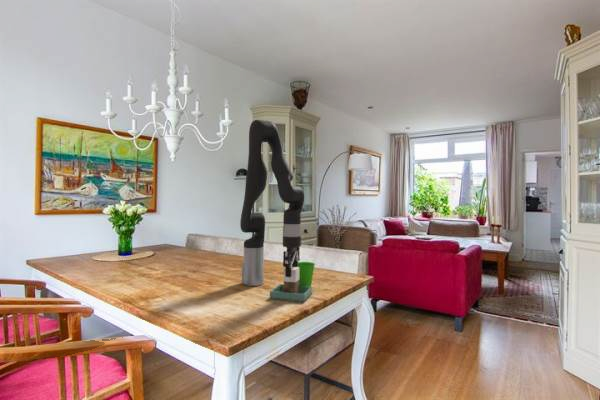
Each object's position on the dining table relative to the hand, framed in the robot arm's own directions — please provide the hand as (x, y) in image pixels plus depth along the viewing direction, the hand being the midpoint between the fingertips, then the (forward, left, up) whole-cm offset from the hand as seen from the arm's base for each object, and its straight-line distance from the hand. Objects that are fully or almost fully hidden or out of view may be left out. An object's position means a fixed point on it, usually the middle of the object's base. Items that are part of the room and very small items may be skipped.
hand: (291, 274), depth 131 cm
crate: (0, 0, -9) cm, 9 cm away
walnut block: (0, 0, -8) cm, 8 cm away
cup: (+2, +13, -9) cm, 16 cm away
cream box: (0, 0, -2) cm, 2 cm away
